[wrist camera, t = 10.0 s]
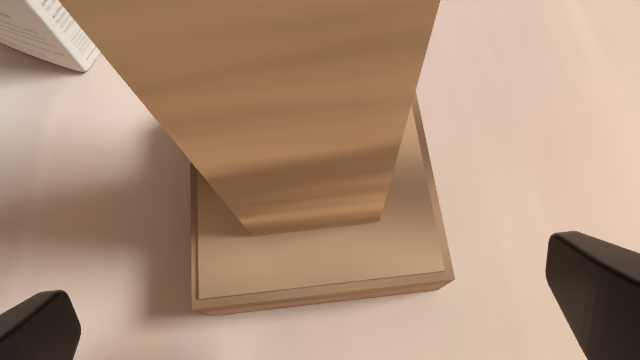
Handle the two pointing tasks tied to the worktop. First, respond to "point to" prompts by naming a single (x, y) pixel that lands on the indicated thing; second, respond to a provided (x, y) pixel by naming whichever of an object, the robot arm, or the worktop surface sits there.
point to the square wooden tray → (323, 246)
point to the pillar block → (275, 95)
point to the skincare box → (46, 33)
